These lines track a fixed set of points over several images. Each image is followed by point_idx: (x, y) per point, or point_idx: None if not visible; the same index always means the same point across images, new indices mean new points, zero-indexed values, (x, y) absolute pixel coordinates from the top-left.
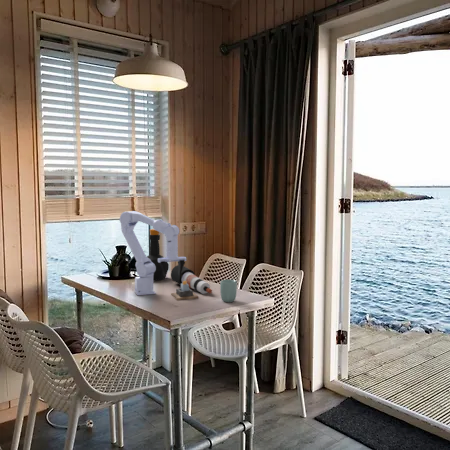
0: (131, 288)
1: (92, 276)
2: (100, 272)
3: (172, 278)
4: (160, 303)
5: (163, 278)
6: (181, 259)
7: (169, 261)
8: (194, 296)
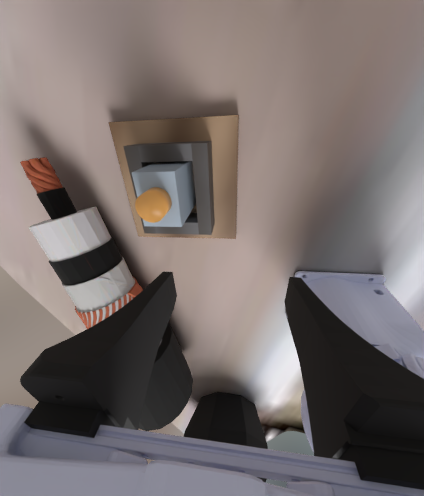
0: None
1: None
2: None
3: (189, 371)
4: (372, 52)
5: (206, 398)
6: (60, 451)
7: (268, 454)
8: (129, 124)
